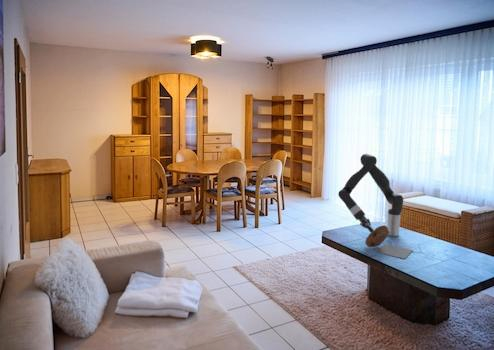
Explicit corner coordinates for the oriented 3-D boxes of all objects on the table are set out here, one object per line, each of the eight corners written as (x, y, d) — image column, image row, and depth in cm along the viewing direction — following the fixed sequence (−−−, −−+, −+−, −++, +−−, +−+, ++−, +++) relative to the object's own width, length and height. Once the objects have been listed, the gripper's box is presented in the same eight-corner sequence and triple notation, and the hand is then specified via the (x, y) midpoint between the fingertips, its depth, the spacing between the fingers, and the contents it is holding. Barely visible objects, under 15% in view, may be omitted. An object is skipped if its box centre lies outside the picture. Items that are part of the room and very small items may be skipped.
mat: (384, 244, 299) (384, 243, 299) (412, 251, 287) (412, 250, 287) (375, 252, 283) (375, 251, 283) (404, 259, 271) (404, 258, 271)
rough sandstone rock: (375, 237, 298) (386, 223, 282) (380, 246, 294) (391, 233, 278) (362, 240, 295) (373, 226, 279) (367, 249, 291) (378, 236, 275)
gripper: (357, 211, 292) (372, 231, 287) (364, 207, 302) (379, 226, 297) (349, 217, 296) (365, 236, 291) (357, 213, 306) (371, 232, 301)
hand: (372, 231), depth 294 cm, fingers closed
